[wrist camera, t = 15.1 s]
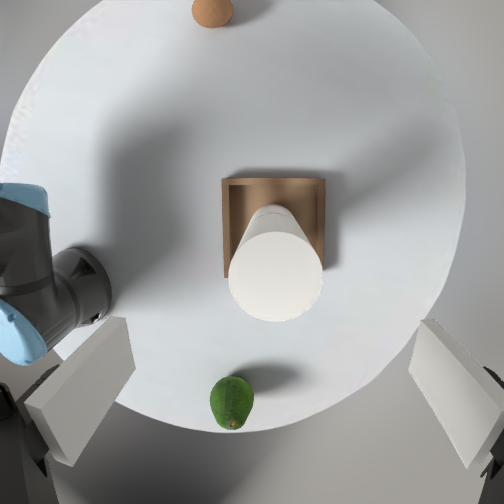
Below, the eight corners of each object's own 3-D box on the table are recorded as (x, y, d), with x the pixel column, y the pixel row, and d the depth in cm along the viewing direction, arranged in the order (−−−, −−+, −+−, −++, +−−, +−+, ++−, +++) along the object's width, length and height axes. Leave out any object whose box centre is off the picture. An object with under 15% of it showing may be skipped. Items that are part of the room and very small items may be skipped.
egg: (203, 39, 41) (191, 18, 33) (193, 13, 40) (181, -10, 32) (240, 28, 41) (234, 4, 33) (229, 2, 39) (222, -23, 31)
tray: (227, 271, 50) (224, 277, 47) (224, 178, 47) (221, 178, 44) (319, 272, 49) (322, 278, 46) (321, 178, 46) (325, 178, 43)
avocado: (252, 400, 56) (248, 443, 45) (213, 394, 56) (202, 436, 45) (257, 369, 54) (254, 412, 43) (216, 363, 55) (204, 404, 43)
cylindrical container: (304, 219, 47) (341, 263, 22) (280, 258, 48) (289, 336, 24) (264, 195, 46) (259, 213, 22) (241, 235, 48) (211, 293, 24)
